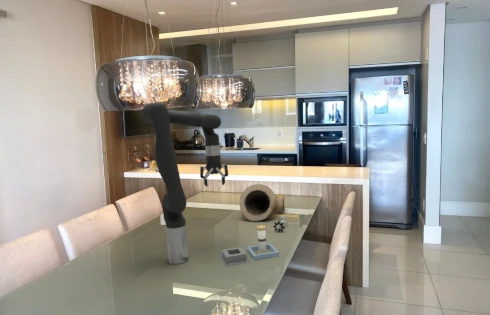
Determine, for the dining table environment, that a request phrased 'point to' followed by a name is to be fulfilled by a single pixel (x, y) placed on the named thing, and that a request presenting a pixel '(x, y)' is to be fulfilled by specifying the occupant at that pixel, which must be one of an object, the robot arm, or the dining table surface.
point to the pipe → (260, 202)
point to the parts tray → (264, 255)
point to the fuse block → (234, 256)
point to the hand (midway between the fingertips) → (214, 185)
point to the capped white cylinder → (261, 239)
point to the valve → (281, 224)
